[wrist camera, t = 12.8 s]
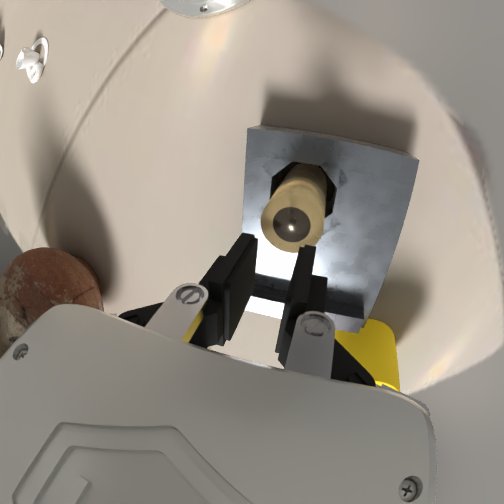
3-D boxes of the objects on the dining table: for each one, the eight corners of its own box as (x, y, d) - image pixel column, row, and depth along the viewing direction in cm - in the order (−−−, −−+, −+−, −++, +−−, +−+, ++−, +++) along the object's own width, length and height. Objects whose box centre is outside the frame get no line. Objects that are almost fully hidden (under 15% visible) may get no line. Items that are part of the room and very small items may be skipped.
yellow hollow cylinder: (332, 313, 32) (326, 375, 24) (405, 323, 30) (415, 383, 22) (317, 361, 37) (308, 416, 29) (380, 369, 35) (380, 423, 27)
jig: (259, 125, 24) (239, 130, 19) (406, 152, 21) (427, 165, 16) (248, 281, 33) (232, 313, 28) (362, 304, 30) (363, 341, 25)
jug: (145, 327, 45) (52, 457, 20) (82, 317, 53) (6, 406, 28) (91, 216, 36) (-60, 341, 11) (39, 234, 43) (-61, 317, 18)
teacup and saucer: (47, 79, 26) (27, 82, 23) (26, 87, 27) (9, 90, 24) (53, 31, 21) (34, 32, 18) (31, 44, 23) (14, 45, 19)
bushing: (288, 160, 25) (262, 189, 16) (330, 167, 24) (328, 201, 15) (283, 199, 27) (258, 246, 18) (323, 206, 26) (317, 258, 17)
